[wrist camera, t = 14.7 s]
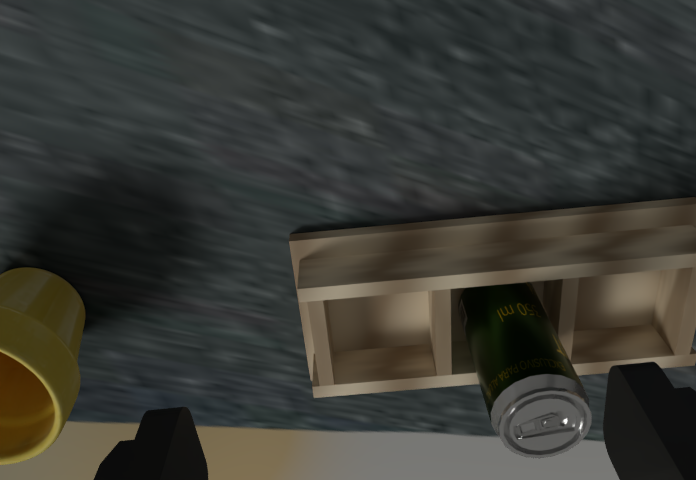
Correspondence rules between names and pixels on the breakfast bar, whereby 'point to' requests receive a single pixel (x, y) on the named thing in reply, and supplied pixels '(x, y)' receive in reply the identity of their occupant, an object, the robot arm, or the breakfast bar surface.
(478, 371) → the beer can
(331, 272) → the wooden compartment organizer
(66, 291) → the plant pot
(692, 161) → the breakfast bar surface
